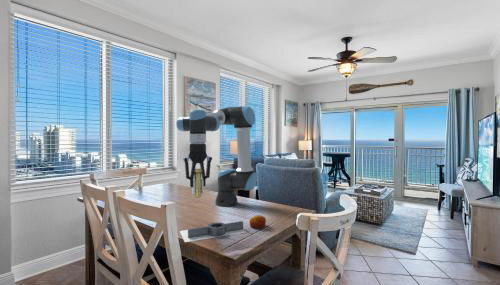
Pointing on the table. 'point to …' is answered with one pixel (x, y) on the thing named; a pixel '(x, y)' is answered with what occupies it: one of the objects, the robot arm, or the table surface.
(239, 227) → the gray bar with ring
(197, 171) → the pin
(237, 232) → the board
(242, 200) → the table surface
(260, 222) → the fruit
